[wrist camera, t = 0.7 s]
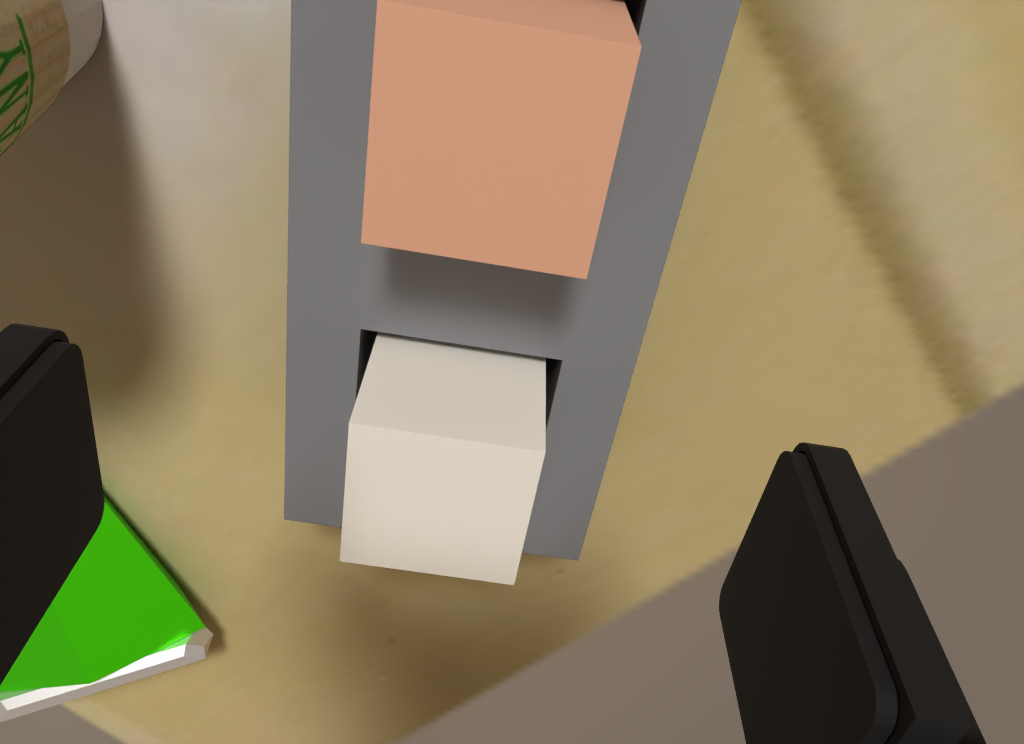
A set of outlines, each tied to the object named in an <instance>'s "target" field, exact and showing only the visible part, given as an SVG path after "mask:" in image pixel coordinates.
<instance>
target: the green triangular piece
mask: <svg viewBox="0 0 1024 744" xmlns="http://www.w3.org/2000/svg"><path fill="white" fill-rule="evenodd" d="M212 637H213V633H212V632H210V631H209V630H208V629H207V628H206V626H205V625H204V623H203V622H202V620H201V619H200V617H199V616H198V614H197V613H196V611H195V610H194V608H193V607H192V605H191V604H190V602H189V601H188V599H187V597H186V596H185V594H184V593H183V591H182V590H181V588H180V587H179V585H178V584H177V582H176V581H175V579H174V578H173V577H172V576H171V575H170V573H169V572H168V571H167V570H166V569H165V567H164V566H163V565H162V564H161V563H160V561H159V560H158V559H157V558H156V557H155V555H154V554H153V553H152V552H151V551H150V549H149V548H148V547H147V546H146V545H145V543H144V542H143V541H142V540H141V539H140V537H139V536H138V535H137V534H136V533H135V531H134V530H133V529H132V528H131V527H130V525H129V524H128V523H127V522H126V521H125V519H124V518H123V517H122V516H121V515H120V513H119V512H118V511H117V510H116V509H115V507H114V506H113V505H112V504H111V503H110V501H109V500H108V499H107V498H106V497H105V495H104V512H103V516H102V520H101V522H100V525H99V527H98V529H97V531H96V532H95V534H94V535H93V537H92V539H91V540H90V542H89V543H88V545H87V547H86V548H85V550H84V552H83V553H82V555H81V556H80V558H79V560H78V561H77V563H76V564H75V566H74V568H73V569H72V571H71V572H70V574H69V576H68V577H67V579H66V580H65V582H64V584H63V585H62V587H61V589H60V590H59V592H58V593H57V595H56V597H55V598H54V600H53V601H52V603H51V605H50V606H49V608H48V609H47V611H46V613H45V614H44V616H43V618H42V619H41V621H40V622H39V624H38V626H37V627H36V629H35V630H34V632H33V634H32V635H31V637H30V638H29V640H28V642H27V643H26V645H25V647H24V648H23V650H22V651H21V653H20V655H19V656H18V658H17V659H16V661H15V663H14V664H13V666H12V667H11V669H10V671H9V672H8V674H7V675H6V677H5V679H4V680H3V682H2V684H1V685H0V722H2V721H6V720H9V719H12V718H15V717H18V716H21V715H25V714H28V713H31V712H35V711H38V710H41V709H44V708H48V707H51V706H54V705H57V704H61V703H64V702H67V701H70V700H74V699H77V698H80V697H83V696H87V695H90V694H93V693H96V692H99V691H103V690H106V689H109V688H112V687H116V686H119V685H122V684H125V683H129V682H132V681H135V680H138V679H142V678H145V677H148V676H151V675H154V674H158V673H161V672H164V671H167V670H171V669H174V668H177V667H180V666H184V665H187V664H190V663H193V662H197V661H200V660H203V659H206V655H207V652H208V649H209V646H210V643H211V640H212Z"/></svg>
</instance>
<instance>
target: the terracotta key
mask: <svg viewBox="0 0 1024 744" xmlns="http://www.w3.org/2000/svg"><path fill="white" fill-rule="evenodd" d="M641 48H642V46H641V44H640V41H639V38H638V36H637V33H636V30H635V28H634V25H633V23H632V20H631V17H630V15H629V12H628V10H627V7H626V4H625V2H624V0H377V12H376V27H375V41H374V56H373V71H372V86H371V101H370V116H369V131H368V146H367V161H366V176H365V191H364V206H363V221H362V236H361V243H364V244H370V245H376V246H382V247H388V248H395V249H401V250H407V251H413V252H420V253H426V254H432V255H438V256H444V257H451V258H457V259H463V260H469V261H476V262H482V263H488V264H494V265H501V266H507V267H513V268H519V269H525V270H532V271H538V272H544V273H550V274H557V275H563V276H569V277H575V278H581V279H587V275H588V271H589V267H590V263H591V258H592V254H593V250H594V246H595V242H596V237H597V233H598V229H599V225H600V220H601V216H602V212H603V208H604V204H605V199H606V195H607V191H608V187H609V183H610V178H611V174H612V170H613V166H614V161H615V157H616V153H617V149H618V145H619V140H620V136H621V132H622V128H623V123H624V119H625V115H626V111H627V107H628V102H629V98H630V94H631V90H632V86H633V81H634V77H635V73H636V69H637V64H638V60H639V56H640V52H641Z"/></svg>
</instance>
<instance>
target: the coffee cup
mask: <svg viewBox="0 0 1024 744" xmlns="http://www.w3.org/2000/svg"><path fill="white" fill-rule="evenodd" d="M102 23H103V11H102V0H0V156H1V155H2V154H3V153H4V152H5V151H6V150H7V149H8V148H9V147H10V146H11V145H12V144H13V143H14V142H15V141H16V140H17V139H18V138H19V137H20V136H21V135H22V134H23V133H24V132H25V131H26V130H27V129H28V128H29V127H30V126H31V125H32V124H33V123H34V122H35V121H36V120H37V119H38V118H39V117H40V116H41V115H42V114H43V113H44V112H45V111H46V110H47V109H48V108H49V107H50V106H51V105H52V103H53V102H54V100H55V99H56V97H57V96H58V94H59V93H60V91H61V90H62V87H63V86H64V85H65V84H66V83H67V82H68V81H69V80H70V79H71V78H72V77H73V76H74V75H75V74H76V73H77V72H78V71H79V70H80V69H81V68H83V67H84V66H85V65H86V64H87V63H88V61H89V60H90V58H91V57H92V55H93V54H94V52H95V51H96V48H97V45H98V43H99V40H100V37H101V32H102Z"/></svg>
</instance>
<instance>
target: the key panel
mask: <svg viewBox="0 0 1024 744" xmlns="http://www.w3.org/2000/svg"><path fill="white" fill-rule="evenodd" d="M741 1H742V0H624V2H625V4H626V7H627V10H628V12H629V15H630V17H631V20H632V23H633V25H634V28H635V30H636V33H637V36H638V38H639V41H640V44H641V46H642V48H641V52H640V56H639V60H638V64H637V69H636V73H635V77H634V81H633V86H632V90H631V94H630V98H629V102H628V107H627V111H626V115H625V119H624V123H623V128H622V132H621V136H620V140H619V145H618V149H617V153H616V157H615V161H614V166H613V170H612V174H611V178H610V183H609V187H608V191H607V195H606V199H605V204H604V208H603V212H602V216H601V220H600V225H599V229H598V233H597V237H596V242H595V246H594V250H593V254H592V258H591V263H590V267H589V271H588V275H587V279H581V278H575V277H569V276H563V275H557V274H550V273H544V272H538V271H532V270H525V269H519V268H513V267H507V266H501V265H494V264H488V263H482V262H476V261H469V260H463V259H457V258H451V257H444V256H438V255H432V254H426V253H420V252H413V251H407V250H401V249H395V248H388V247H382V246H376V245H370V244H364V243H361V236H362V221H363V206H364V191H365V176H366V161H367V146H368V131H369V116H370V101H371V86H372V71H373V56H374V41H375V27H376V12H377V0H291V68H290V140H289V211H288V283H287V354H286V426H285V497H284V519H285V520H292V521H299V522H307V523H314V524H321V525H328V526H335V527H342V519H343V504H344V489H345V474H346V459H347V445H348V430H349V421H350V418H351V415H352V412H353V409H354V405H355V402H356V399H357V396H358V393H359V390H360V387H361V384H362V380H363V377H364V374H365V371H366V368H367V365H368V362H369V358H370V355H371V352H372V349H373V346H374V343H375V340H376V336H377V333H378V332H383V333H390V334H396V335H403V336H409V337H416V338H422V339H429V340H435V341H442V342H448V343H455V344H461V345H468V346H474V347H480V348H487V349H493V350H500V351H506V352H513V353H519V354H526V355H532V356H539V357H545V358H546V452H545V457H544V461H543V465H542V469H541V473H540V478H539V482H538V486H537V490H536V495H535V499H534V503H533V507H532V511H531V516H530V520H529V524H528V528H527V533H526V537H525V541H524V545H523V549H522V553H528V554H535V555H542V556H549V557H557V558H564V559H571V560H578V559H579V556H580V552H581V549H582V545H583V542H584V539H585V535H586V532H587V528H588V525H589V521H590V518H591V515H592V511H593V508H594V504H595V501H596V497H597V494H598V491H599V487H600V484H601V480H602V477H603V473H604V470H605V467H606V463H607V460H608V456H609V453H610V450H611V446H612V443H613V439H614V436H615V432H616V429H617V426H618V422H619V419H620V415H621V412H622V408H623V405H624V402H625V398H626V395H627V391H628V388H629V384H630V381H631V378H632V374H633V371H634V367H635V364H636V361H637V357H638V354H639V350H640V347H641V343H642V340H643V337H644V333H645V330H646V326H647V323H648V319H649V316H650V313H651V309H652V306H653V302H654V299H655V296H656V292H657V289H658V285H659V282H660V278H661V275H662V272H663V268H664V265H665V261H666V258H667V254H668V251H669V248H670V244H671V241H672V237H673V234H674V230H675V227H676V224H677V220H678V217H679V213H680V210H681V207H682V203H683V200H684V196H685V193H686V189H687V186H688V183H689V179H690V176H691V172H692V169H693V165H694V162H695V159H696V155H697V152H698V148H699V145H700V141H701V138H702V135H703V131H704V128H705V124H706V121H707V118H708V114H709V111H710V107H711V104H712V100H713V97H714V94H715V90H716V87H717V83H718V80H719V76H720V73H721V70H722V66H723V63H724V59H725V56H726V52H727V49H728V46H729V42H730V39H731V35H732V32H733V29H734V25H735V22H736V18H737V15H738V11H739V8H740V5H741Z"/></svg>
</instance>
